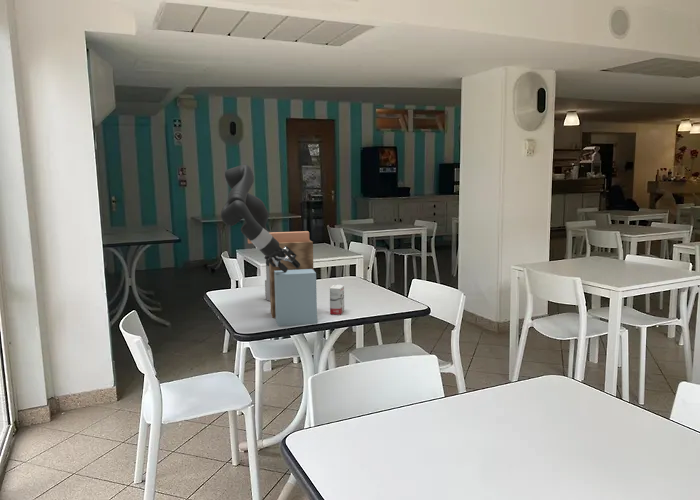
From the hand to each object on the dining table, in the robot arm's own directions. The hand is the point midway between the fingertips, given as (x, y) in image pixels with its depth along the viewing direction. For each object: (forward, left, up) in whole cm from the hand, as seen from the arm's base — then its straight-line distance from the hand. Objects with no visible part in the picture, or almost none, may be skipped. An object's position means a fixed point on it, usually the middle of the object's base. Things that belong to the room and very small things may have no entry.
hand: (292, 268), depth 222 cm
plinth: (-11, +12, -23) cm, 28 cm away
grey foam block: (-2, +3, -23) cm, 23 cm away
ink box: (+4, +25, -23) cm, 34 cm away
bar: (-15, +8, +9) cm, 19 cm away
